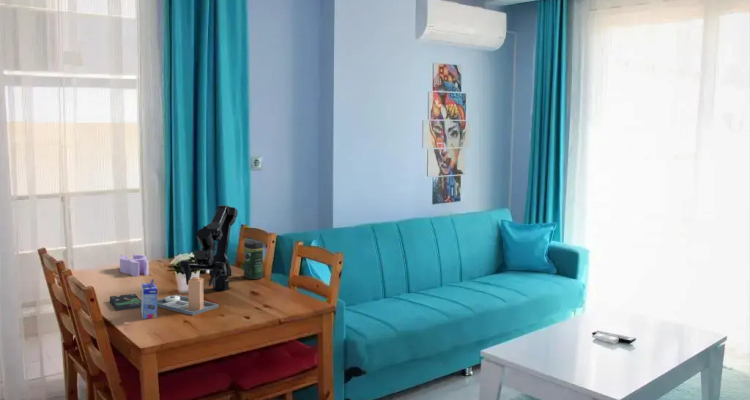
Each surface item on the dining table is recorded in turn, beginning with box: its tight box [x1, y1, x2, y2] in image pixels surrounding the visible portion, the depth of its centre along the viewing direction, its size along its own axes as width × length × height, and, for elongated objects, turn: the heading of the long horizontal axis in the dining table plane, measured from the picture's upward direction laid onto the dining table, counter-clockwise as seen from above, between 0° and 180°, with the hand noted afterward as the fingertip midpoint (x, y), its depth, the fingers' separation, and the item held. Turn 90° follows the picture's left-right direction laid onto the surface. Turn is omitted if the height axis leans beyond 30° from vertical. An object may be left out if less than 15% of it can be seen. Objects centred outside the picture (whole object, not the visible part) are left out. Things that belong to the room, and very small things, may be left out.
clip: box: [119, 253, 150, 277], centre depth 319 cm, size 20×12×7 cm, turn 39°
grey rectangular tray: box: [157, 294, 220, 316], centre depth 262 cm, size 24×14×3 cm, turn 60°
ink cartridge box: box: [140, 278, 158, 320], centre depth 249 cm, size 10×6×14 cm, turn 23°
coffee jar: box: [243, 239, 264, 280], centre depth 315 cm, size 10×8×19 cm
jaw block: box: [187, 276, 205, 311], centre depth 258 cm, size 5×5×13 cm
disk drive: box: [109, 293, 141, 311], centre depth 264 cm, size 10×3×15 cm
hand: (198, 285), depth 260 cm, fingers open, 9 cm apart
